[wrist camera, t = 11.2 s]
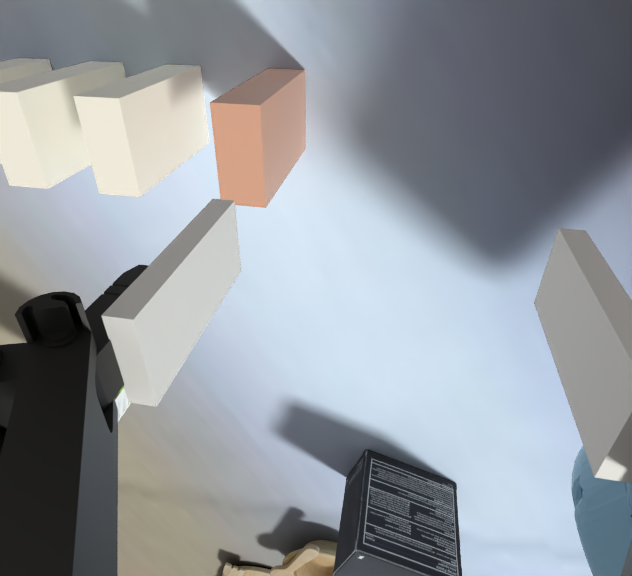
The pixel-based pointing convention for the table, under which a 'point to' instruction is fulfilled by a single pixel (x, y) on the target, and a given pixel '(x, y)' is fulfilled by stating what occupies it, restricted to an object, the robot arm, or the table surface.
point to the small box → (397, 522)
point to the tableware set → (295, 562)
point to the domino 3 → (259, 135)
